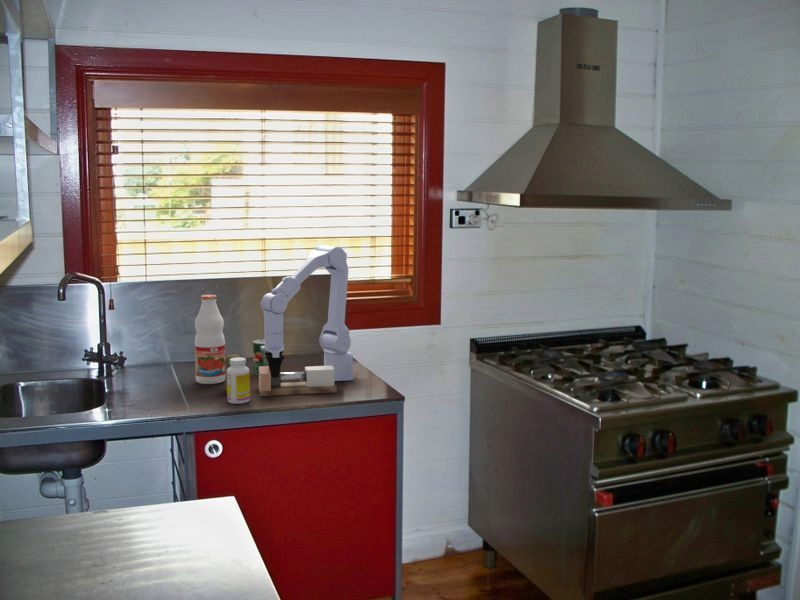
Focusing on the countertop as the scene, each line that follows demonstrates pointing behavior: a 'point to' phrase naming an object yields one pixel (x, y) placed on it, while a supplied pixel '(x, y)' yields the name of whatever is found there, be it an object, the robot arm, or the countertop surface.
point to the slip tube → (289, 378)
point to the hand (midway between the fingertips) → (274, 375)
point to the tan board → (297, 389)
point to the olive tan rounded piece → (227, 362)
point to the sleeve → (319, 376)
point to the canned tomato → (259, 355)
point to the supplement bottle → (238, 381)
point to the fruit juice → (209, 343)
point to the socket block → (264, 378)
